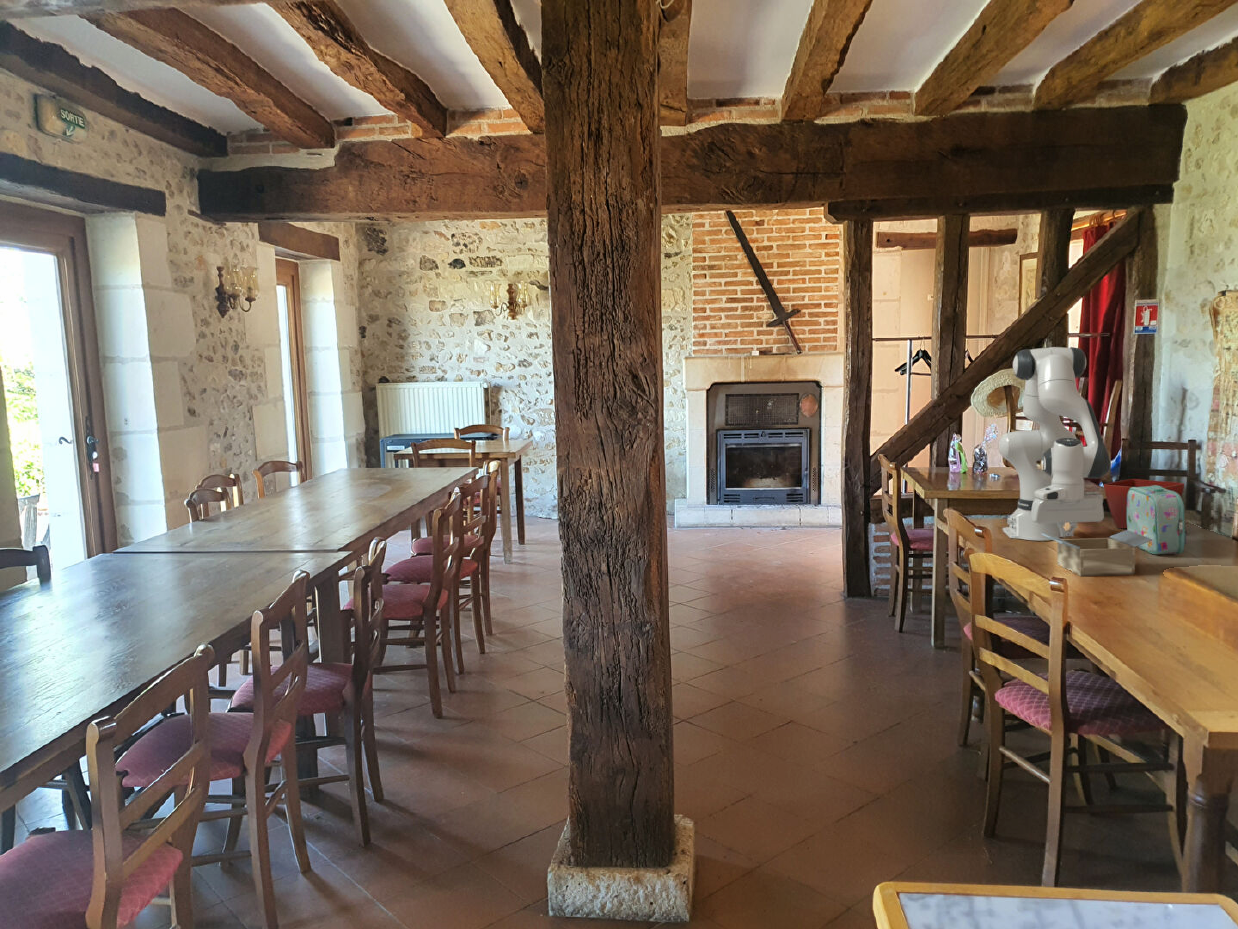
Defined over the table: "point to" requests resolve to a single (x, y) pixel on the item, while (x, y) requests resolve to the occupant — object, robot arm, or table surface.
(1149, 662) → the table surface
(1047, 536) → the flap
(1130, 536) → the flap
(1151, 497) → the lunch box
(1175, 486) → the plant pot
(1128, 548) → the crate
